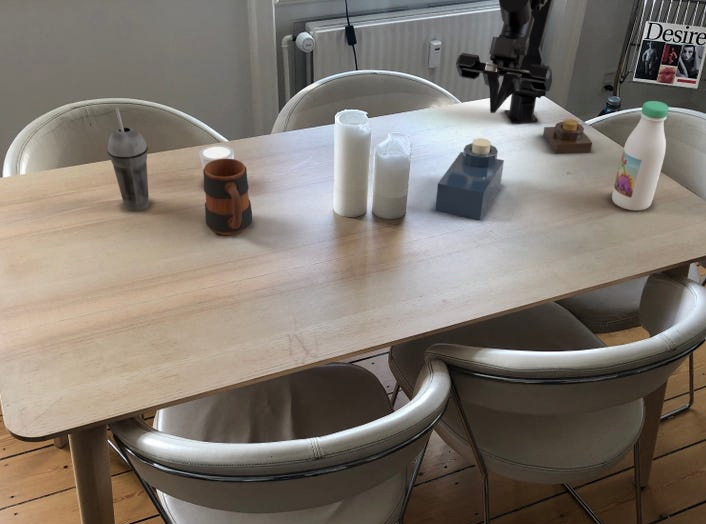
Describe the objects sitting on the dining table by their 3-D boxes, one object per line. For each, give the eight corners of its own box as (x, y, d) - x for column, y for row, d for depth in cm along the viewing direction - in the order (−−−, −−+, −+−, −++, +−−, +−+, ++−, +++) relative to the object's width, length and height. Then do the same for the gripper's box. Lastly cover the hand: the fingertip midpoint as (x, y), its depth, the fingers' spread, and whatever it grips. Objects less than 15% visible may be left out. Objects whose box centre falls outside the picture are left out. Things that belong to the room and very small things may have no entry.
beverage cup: (162, 200, 163) (148, 101, 150) (143, 217, 157) (127, 116, 145) (130, 193, 164) (113, 95, 152) (110, 210, 159) (91, 110, 146)
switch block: (542, 136, 189) (545, 119, 186) (576, 134, 189) (579, 118, 187) (555, 153, 182) (558, 136, 179) (590, 152, 183) (594, 135, 180)
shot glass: (243, 184, 168) (241, 152, 164) (217, 195, 164) (214, 163, 160) (221, 173, 172) (218, 141, 167) (195, 184, 168) (191, 152, 163)
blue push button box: (459, 175, 173) (463, 139, 168) (501, 183, 170) (507, 147, 165) (435, 210, 161) (438, 172, 156) (479, 220, 159) (485, 182, 154)
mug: (217, 249, 149) (212, 191, 142) (201, 217, 158) (195, 161, 150) (263, 240, 152) (260, 182, 144) (245, 210, 160) (241, 153, 153)
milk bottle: (647, 194, 168) (673, 98, 155) (654, 212, 162) (682, 114, 149) (608, 191, 169) (631, 95, 156) (614, 210, 163) (638, 112, 150)
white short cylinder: (474, 146, 166) (475, 136, 165) (491, 149, 165) (493, 140, 164) (469, 153, 164) (470, 144, 163) (486, 157, 163) (488, 147, 161)
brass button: (559, 126, 184) (561, 118, 183) (573, 125, 185) (575, 118, 184) (564, 132, 182) (566, 124, 181) (578, 131, 182) (580, 124, 181)
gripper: (463, 10, 161) (441, 86, 160) (559, 24, 156) (536, 102, 155) (470, 39, 172) (449, 110, 171) (560, 53, 166) (539, 126, 165)
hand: (492, 112), depth 165 cm, fingers closed
